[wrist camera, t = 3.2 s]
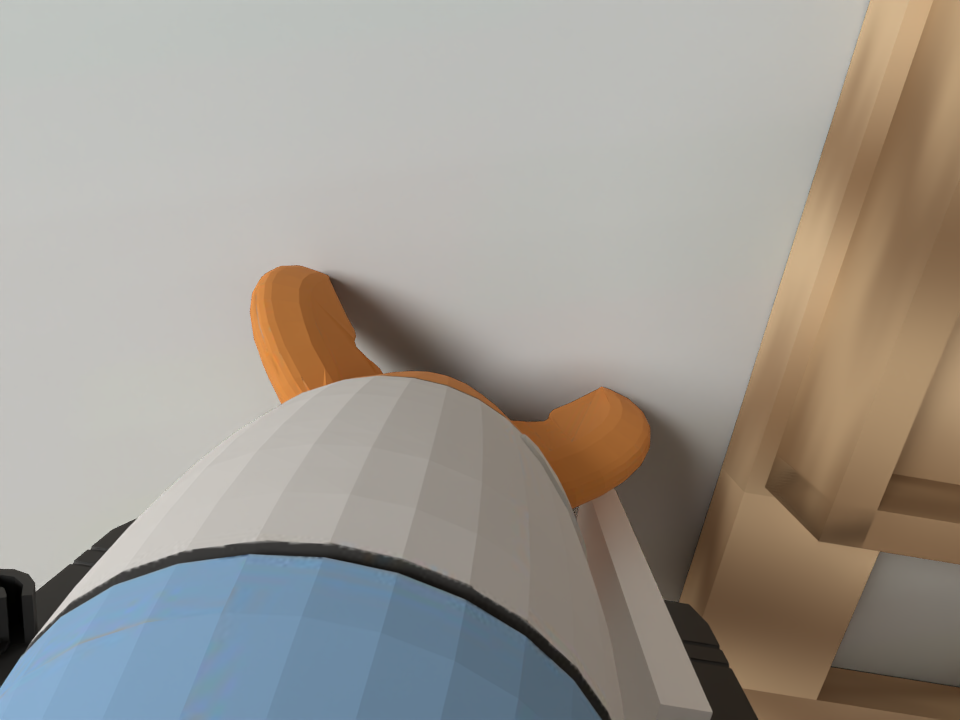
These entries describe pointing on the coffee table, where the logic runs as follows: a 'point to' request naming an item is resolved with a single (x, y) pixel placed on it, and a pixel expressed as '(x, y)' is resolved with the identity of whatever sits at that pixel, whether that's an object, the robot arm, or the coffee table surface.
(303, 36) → the coffee table surface
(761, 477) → the tray
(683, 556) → the coffee table surface
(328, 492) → the toy rocket
